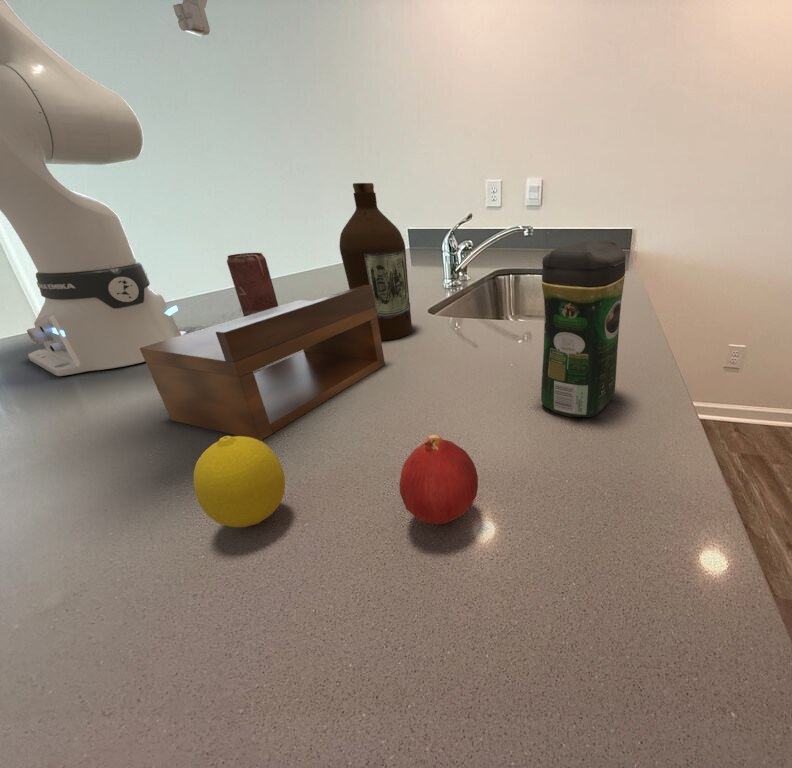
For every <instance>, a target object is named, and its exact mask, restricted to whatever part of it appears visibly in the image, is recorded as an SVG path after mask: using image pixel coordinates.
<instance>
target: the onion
mask: <svg viewBox="0 0 792 768" xmlns="http://www.w3.org/2000/svg"><path fill="white" fill-rule="evenodd" d="M398 487H399V494H400V497H401V500H402V503H403V505H404V507H405V509H406V510H407V511H408V512H409V513H410V514H411V515H412V516H413V517H414V518H416V519H417V520H419V521H420V522H425V523H428V524H432V525H446V524H448V523H450V522H451V521H453V520H455V519H458V518H459V517H461V516H462V515H464V514H466V513H467V512H468V510H469V509H470V508H471V506H472V504H473V503H474V501H475V500H476V497H477V495H478V494H477V493H478V488H479V475H478V471H477V467H476V465H475V464H474V461H473V459H472V458H471V457H470V455H469V454H468V453H467V451H466V450H465V449H463V448H462V447H461V446H459V445H457V444H456V443H454V442H453V441H451V440H448V439H443V438H442V437H441V436H439V435H437V434H431V435H430V436H428V437H427V438H426V440H424V442H423V443H422V444H421V445H419V446H418V447H416V448H414V450H413V451H412V452H411V453H410V454H409V456H408V457H407V459H406V460H405V461H404V463H403V465H402V468H401V472H400V478H399V486H398Z"/></svg>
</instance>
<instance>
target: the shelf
mask: <svg viewBox="0 0 792 768" xmlns="http://www.w3.org/2000/svg"><path fill="white" fill-rule="evenodd" d="M140 351H141V353H142V355H143V357H144V360H145V364H146V366H147V369H148V372H149V373H150V375H151V377H152V379H153V382H154V385H155V387H156V389H157V392H158V394H159V396H160V398H161V400H162V403H163V405H164V407H165V409H166V412H167V415H168V416H169V418H170V420H171V421H172V422H176V423H181V424H186V425H190V426H194V427H199V428H204V429H208V430H212V431H216V432H221V433H225V434H229V435H234V436H243V437H250V438H254V439H257V440H259V441H261V442H262V441H263V440H264V439H266V438H268V437H269V436H271V435H273V434H275V433H276V432H277V431H279V430H281V429H283V428H284V427H285V426H287V425H289V424H291V423H293V422H294V421H295V420H297V419H299V418H300V417H302V416H304V415H305V414H307V413H309V412H311V411H312V410H313V409H315V408H317V407H318V406H320V405H322V404H324V403H325V402H327V401H329V400H330V399H331V398H333V397H335V396H336V395H338V394H340V393H341V392H343V391H345V390H346V389H348V388H349V387H350V386H352V385H354V384H356V383H358V382H359V381H361V380H362V379H364V378H366V377H367V376H369V375H370V374H372V373H374V372H375V371H377V370H378V369H380V368H382V367H383V366H385V365H386V362H385V356H384V350H383V342H382V341H381V337H380V331H379V325H378V319H377V312H376V306H375V301H374V295H373V289H372V285H362V286H359V287H356V288H353V289H346V290H344V291H340V292H336V293H334V294H331V295H327V296H324V297H322V298H318V299H315V300H304V299H298V300H295V301H292V302H288V303H285V304H281V305H278V307H274V308H271V309H268V310H265V311H261V312H258V313H255V314H251V315H248V316H245V317H244V316H242V317H241V316H240V317H238V318H235V319H231V320H228V321H225V322H222V323H218V324H214V325H211V326H209V327H205V328H202V329H199V330H194V331H192V332H187V334H185V335H181V336H178V337H175V338H172V339H168V340H165V341H162V342H158V343H155V344H152V345H148V346H145V347H142V348H140ZM298 352H299V353H298ZM291 355H292V356H291ZM282 359H283V360H282ZM280 360H281V361H280ZM277 361H279V362H277ZM273 363H274V364H273ZM271 364H272V365H271ZM268 365H269V366H268ZM266 366H267V367H266ZM264 367H265V368H264ZM260 369H261V370H260ZM257 370H258V371H257ZM254 371H255V372H254Z"/></svg>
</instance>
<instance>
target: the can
mask: <svg viewBox="0 0 792 768" xmlns="http://www.w3.org/2000/svg"><path fill="white" fill-rule="evenodd" d="M226 263H227V267H228V271H229V273H230V277H231V279H232V283H233V286H234V289H235V293H236V296H237V299H238V302H239V306H240V308H241V312H242V315H243V317H245V316H248V315H251V314H255V313H258V312H261V311H265V310H268V309H271V308H274V307H278V306H279V303H278V302H279V301H278V299H277V296H276V292H275V288H274V285H273V281H272V278H271V273H270V270H269V266H268V263H267V258H266V257H265V256H264V255H263V253H262V252H244V253H243V252H242V253H235V254H229V255H227V259H226Z"/></svg>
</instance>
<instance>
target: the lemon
mask: <svg viewBox="0 0 792 768" xmlns="http://www.w3.org/2000/svg"><path fill="white" fill-rule="evenodd" d="M194 466H195V467H194V470H193V488H194V492H195V496H196V499H197V501H198V504H199V506H200V507H201V509H202V511H203V512H204V513H205V514H206V515H207V517H208V518H210V519H212V520H213V521H214V522H215V523H218V524H219V525H222V526H226V527H228V528H229V527H230V528H244V527H250V526H257V525H258V524H260V523H262V521H264V520H266V519H267V518H269V517H270V516H271V515H272V514H273V513H274V512H275V511H276V510H277V508H279V506H280V504H281V502H282V500H283V498H284V496H285V491H286V489H285V488H286V478H285V472H284V470H283V467H282V464H281V462H280V460H279V458H278V456H277V455H276V453H275V452H274V451H273V450H272V449H271V447H269V446H268V445H267V444H266V443H265V442H263V441H262V440H261V441H260V440H257V439H254V438H250V437H243V436H238V435H234V436H231V435H225V436H222V437H220V438H219V440H218V441H216V442H214V443H212V444H211V445H210V446H209V447H207V449H205V450H204V451H203V452H202V454H201V455H200V456H199V458H198V460H197V461H196V464H195V465H194Z"/></svg>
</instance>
